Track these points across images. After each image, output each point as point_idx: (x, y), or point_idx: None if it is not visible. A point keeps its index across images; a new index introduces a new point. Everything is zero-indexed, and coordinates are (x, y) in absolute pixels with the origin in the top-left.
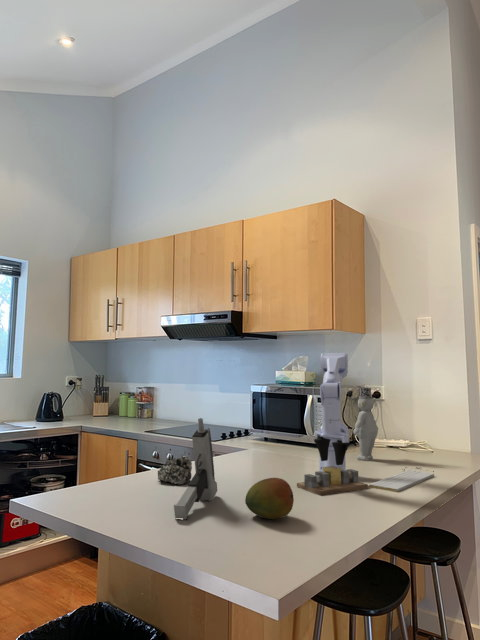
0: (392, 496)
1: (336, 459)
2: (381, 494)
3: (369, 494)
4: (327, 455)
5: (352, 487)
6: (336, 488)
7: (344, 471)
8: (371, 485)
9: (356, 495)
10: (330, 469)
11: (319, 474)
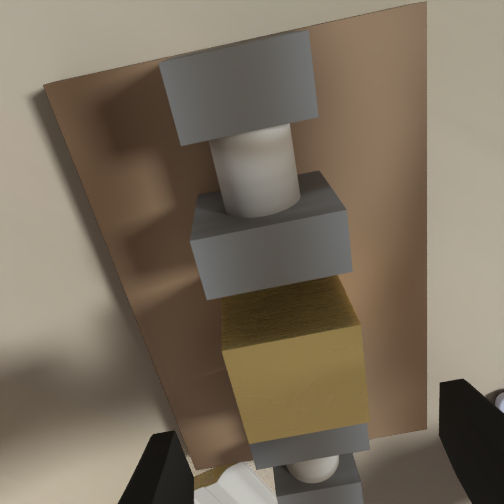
0: (3, 478)
1: (137, 488)
2: (51, 454)
3: (56, 405)
4: (468, 493)
5: (161, 377)
6: (124, 264)
7: (259, 444)
8: (209, 481)
9: (37, 334)
10: (228, 348)
11: (264, 219)
